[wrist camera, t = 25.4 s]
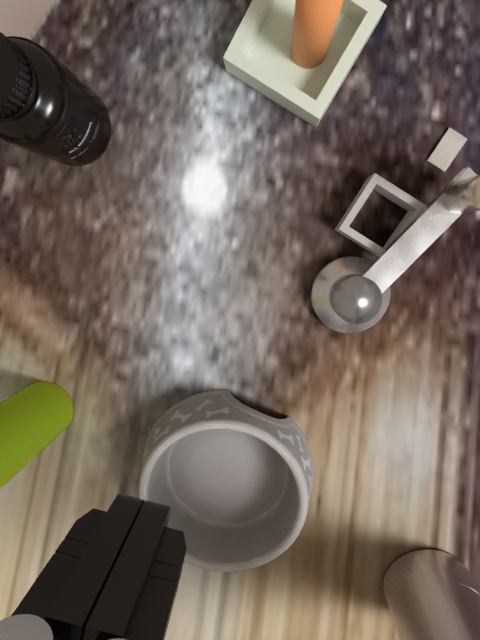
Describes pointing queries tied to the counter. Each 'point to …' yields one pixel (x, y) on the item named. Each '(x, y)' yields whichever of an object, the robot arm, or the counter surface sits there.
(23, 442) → the soap dispenser
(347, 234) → the collar
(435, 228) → the crank
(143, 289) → the counter surface
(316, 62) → the pin
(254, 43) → the tray
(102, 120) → the supplement bottle
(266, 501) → the dog bowl
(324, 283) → the crank flange
